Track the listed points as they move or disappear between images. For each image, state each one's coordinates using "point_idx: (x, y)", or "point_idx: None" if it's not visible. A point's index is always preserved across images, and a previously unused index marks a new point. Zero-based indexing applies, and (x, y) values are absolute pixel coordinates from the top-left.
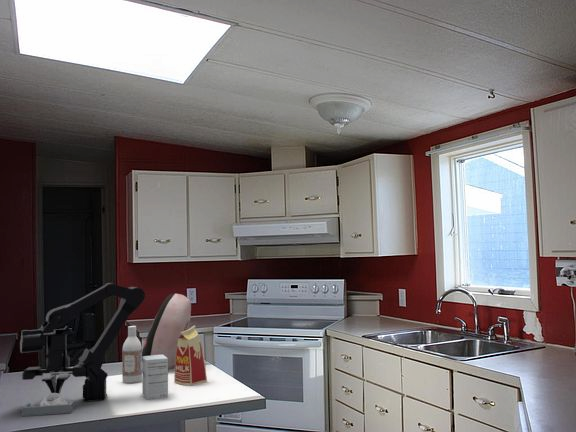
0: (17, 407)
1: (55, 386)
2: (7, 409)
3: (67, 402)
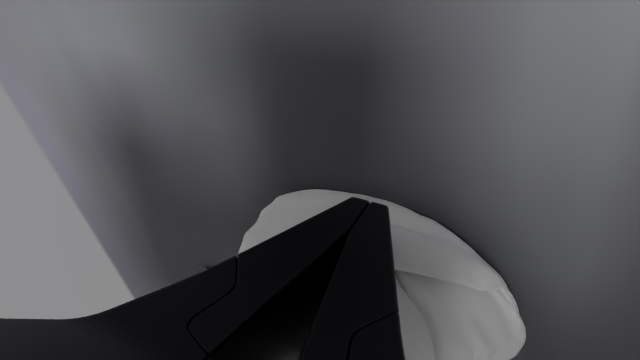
0: (79, 114)
1: (269, 344)
2: (48, 141)
3: (520, 334)
